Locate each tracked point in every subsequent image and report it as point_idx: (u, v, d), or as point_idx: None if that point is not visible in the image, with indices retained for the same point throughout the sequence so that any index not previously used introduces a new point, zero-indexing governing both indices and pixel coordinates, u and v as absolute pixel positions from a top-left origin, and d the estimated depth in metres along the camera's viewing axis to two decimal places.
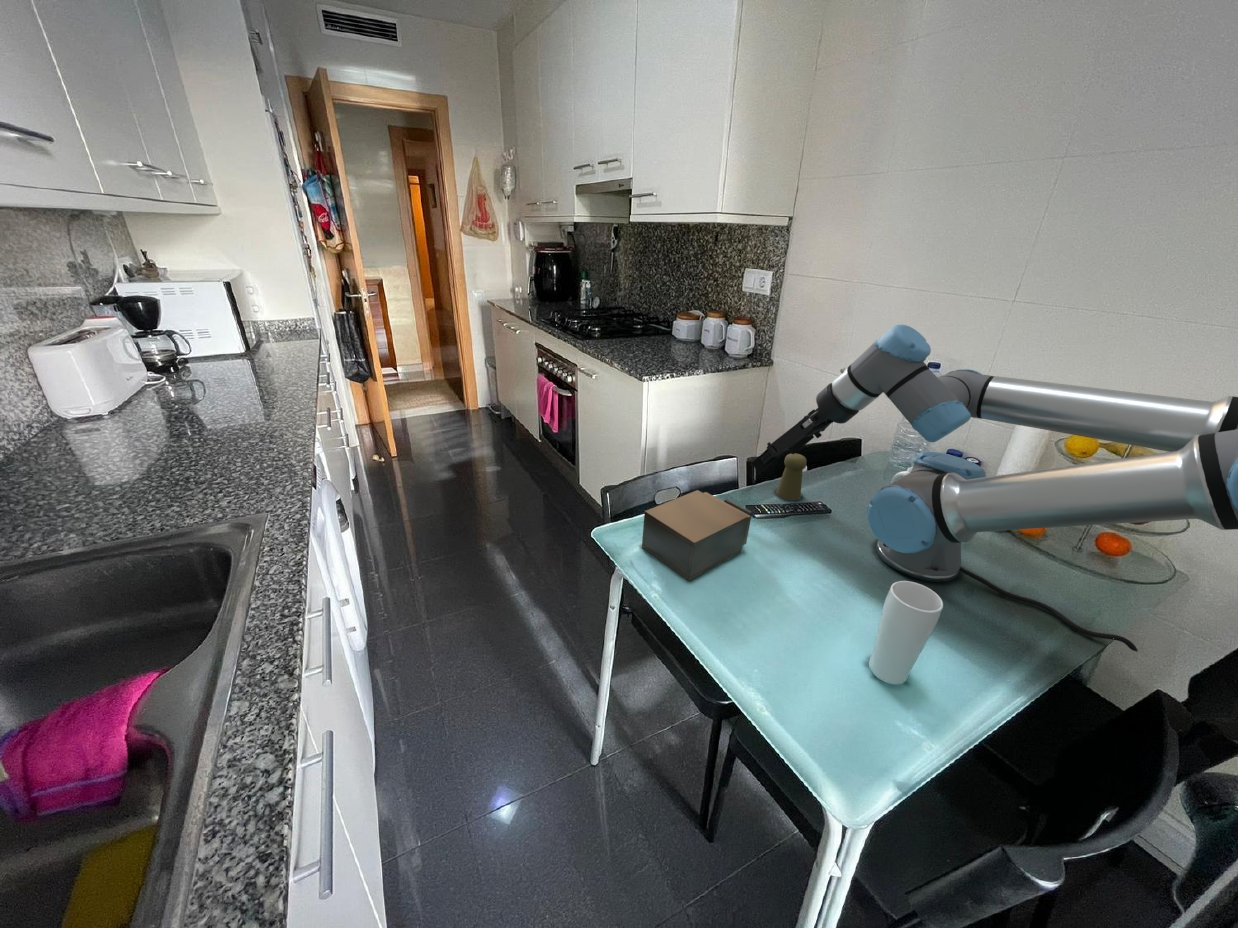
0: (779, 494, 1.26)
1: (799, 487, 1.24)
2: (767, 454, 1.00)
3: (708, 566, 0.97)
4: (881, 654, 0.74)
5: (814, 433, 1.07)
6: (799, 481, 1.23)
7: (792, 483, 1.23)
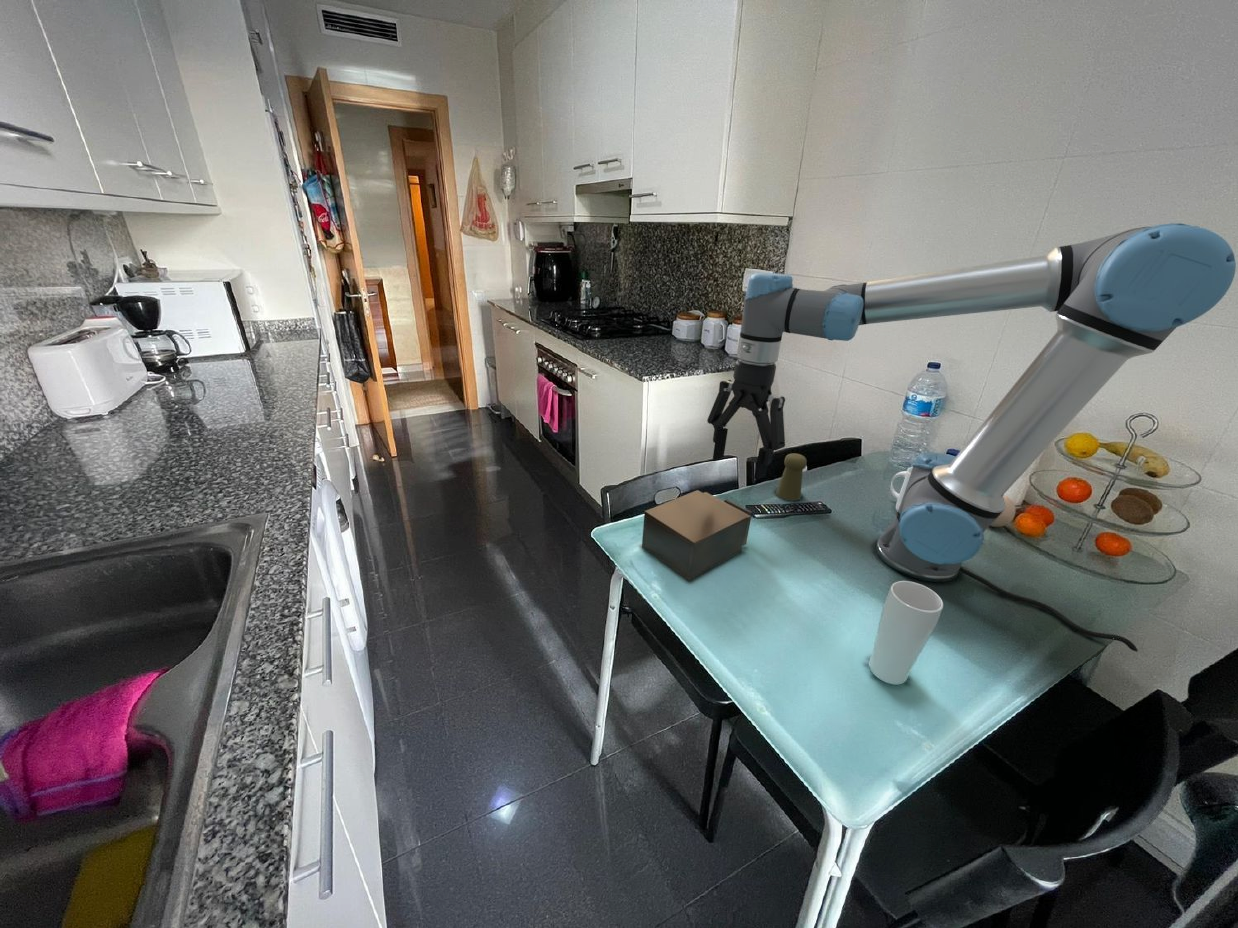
0: (779, 494, 1.26)
1: (799, 487, 1.24)
2: (770, 455, 0.96)
3: (708, 566, 0.97)
4: (881, 654, 0.74)
5: (725, 424, 1.04)
6: (799, 481, 1.23)
7: (792, 483, 1.23)
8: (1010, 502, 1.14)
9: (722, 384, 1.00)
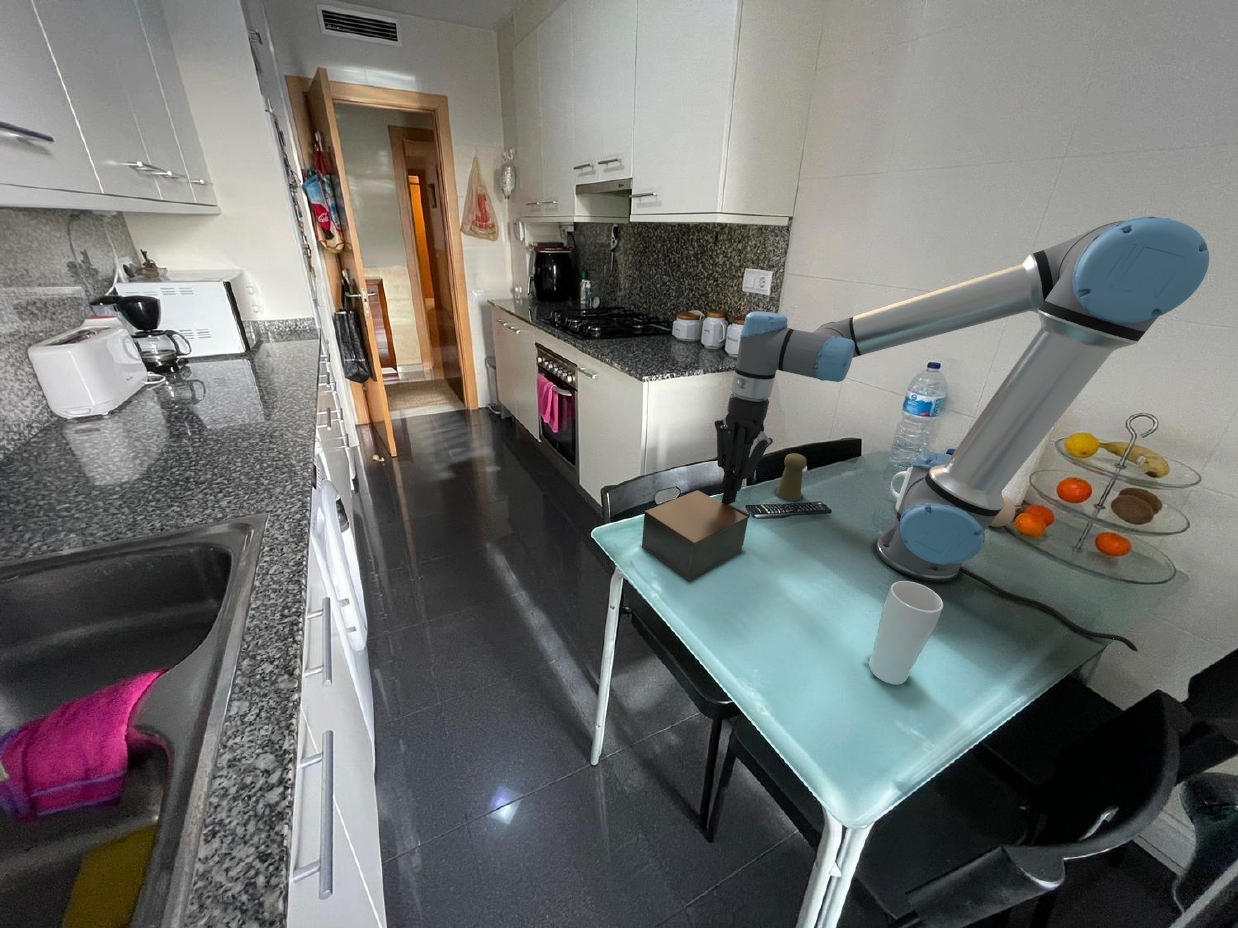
0: (779, 494, 1.26)
1: (799, 487, 1.24)
2: (739, 483, 1.02)
3: (708, 566, 0.97)
4: (881, 654, 0.74)
5: (734, 466, 1.04)
6: (799, 481, 1.23)
7: (792, 483, 1.23)
8: (1010, 502, 1.14)
9: (717, 423, 1.02)
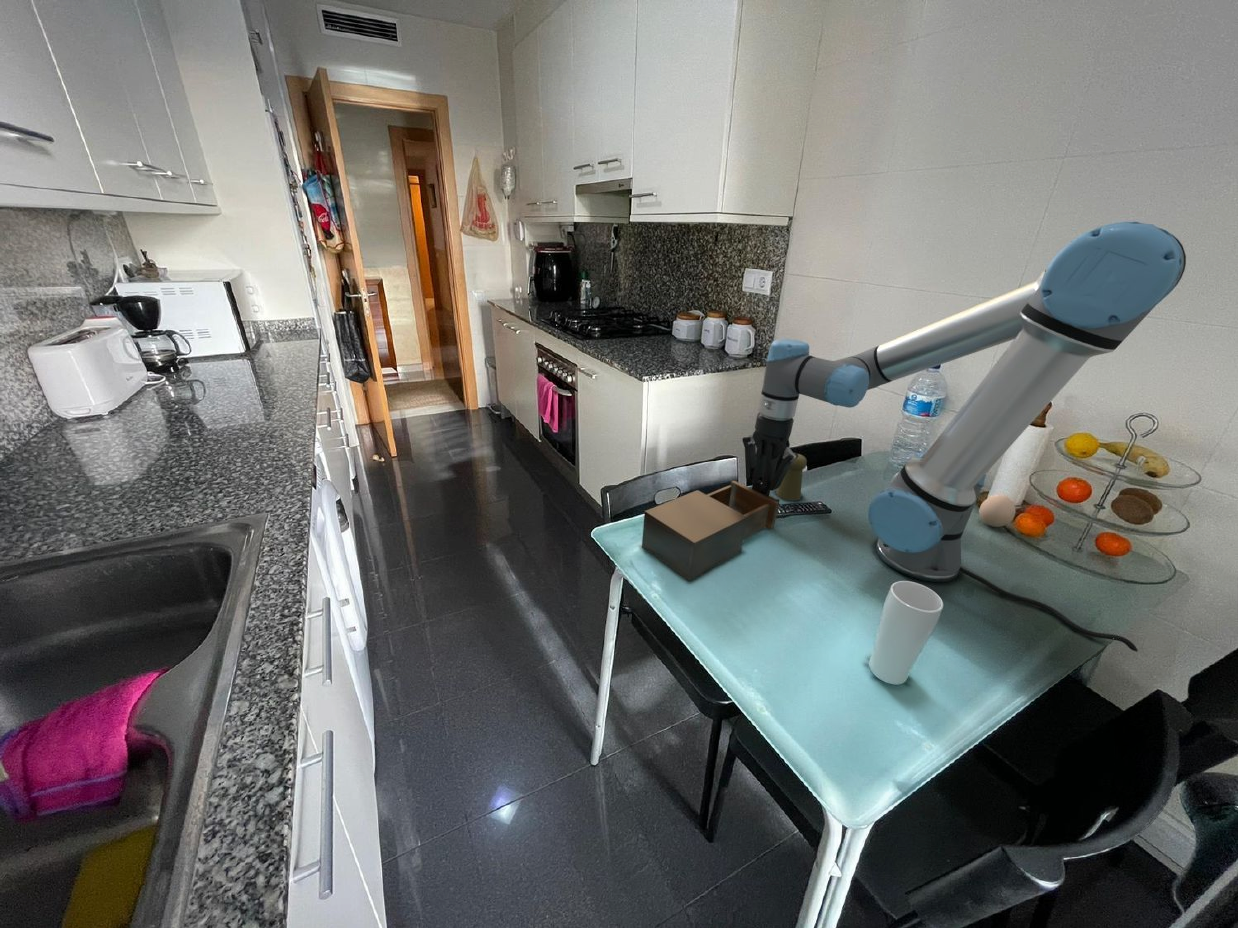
0: (779, 494, 1.26)
1: (799, 487, 1.24)
2: (767, 494, 1.11)
3: (708, 566, 0.97)
4: (881, 654, 0.74)
5: (762, 479, 1.13)
6: (799, 481, 1.23)
7: (792, 483, 1.23)
8: (1010, 502, 1.14)
9: (744, 439, 1.11)
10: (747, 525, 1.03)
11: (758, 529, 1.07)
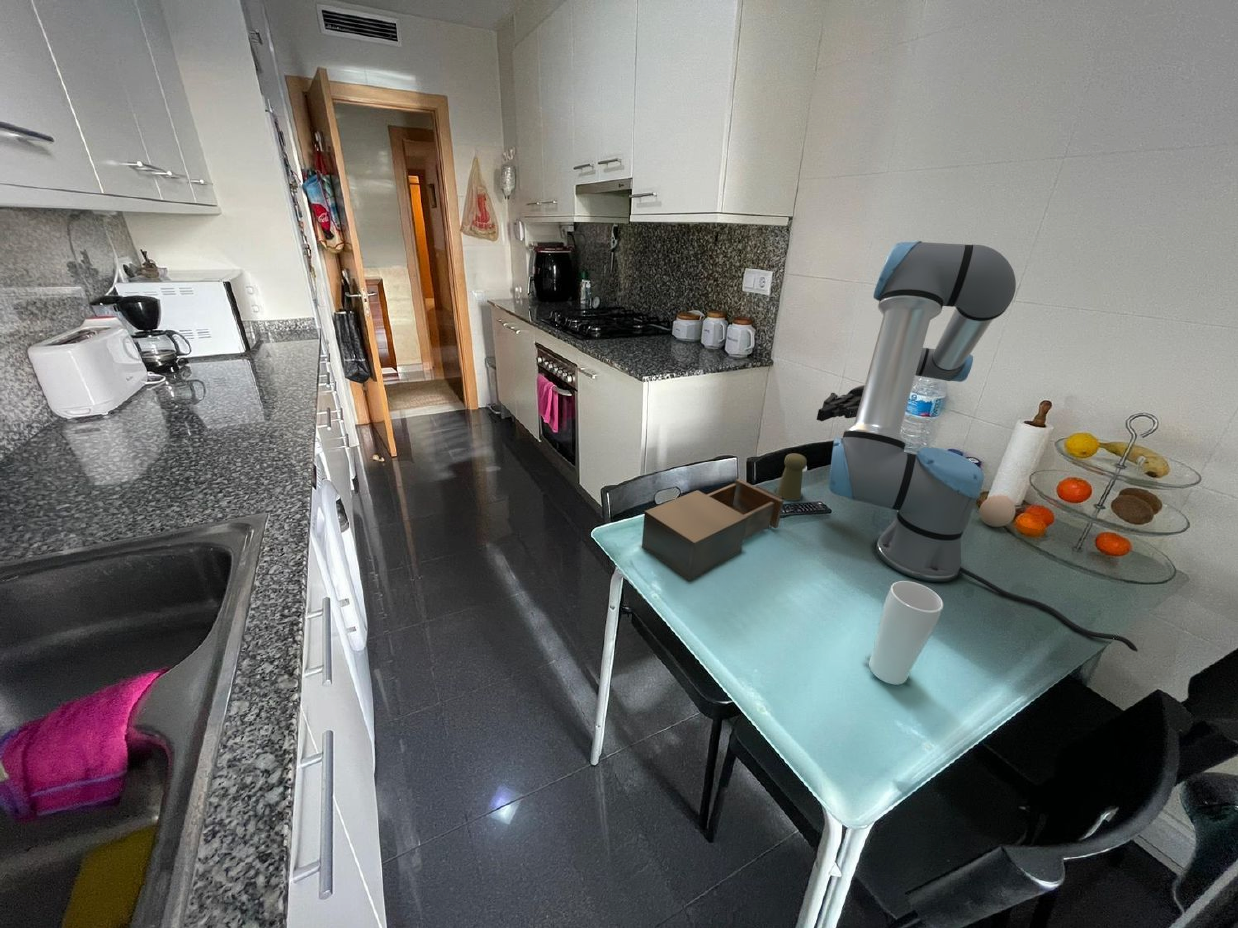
0: (779, 494, 1.26)
1: (799, 487, 1.24)
2: (839, 412, 1.24)
3: (708, 566, 0.97)
4: (881, 654, 0.74)
5: None
6: (799, 481, 1.23)
7: (792, 483, 1.23)
8: (1010, 502, 1.14)
9: (834, 393, 1.35)
10: (752, 523, 1.04)
11: (763, 527, 1.08)
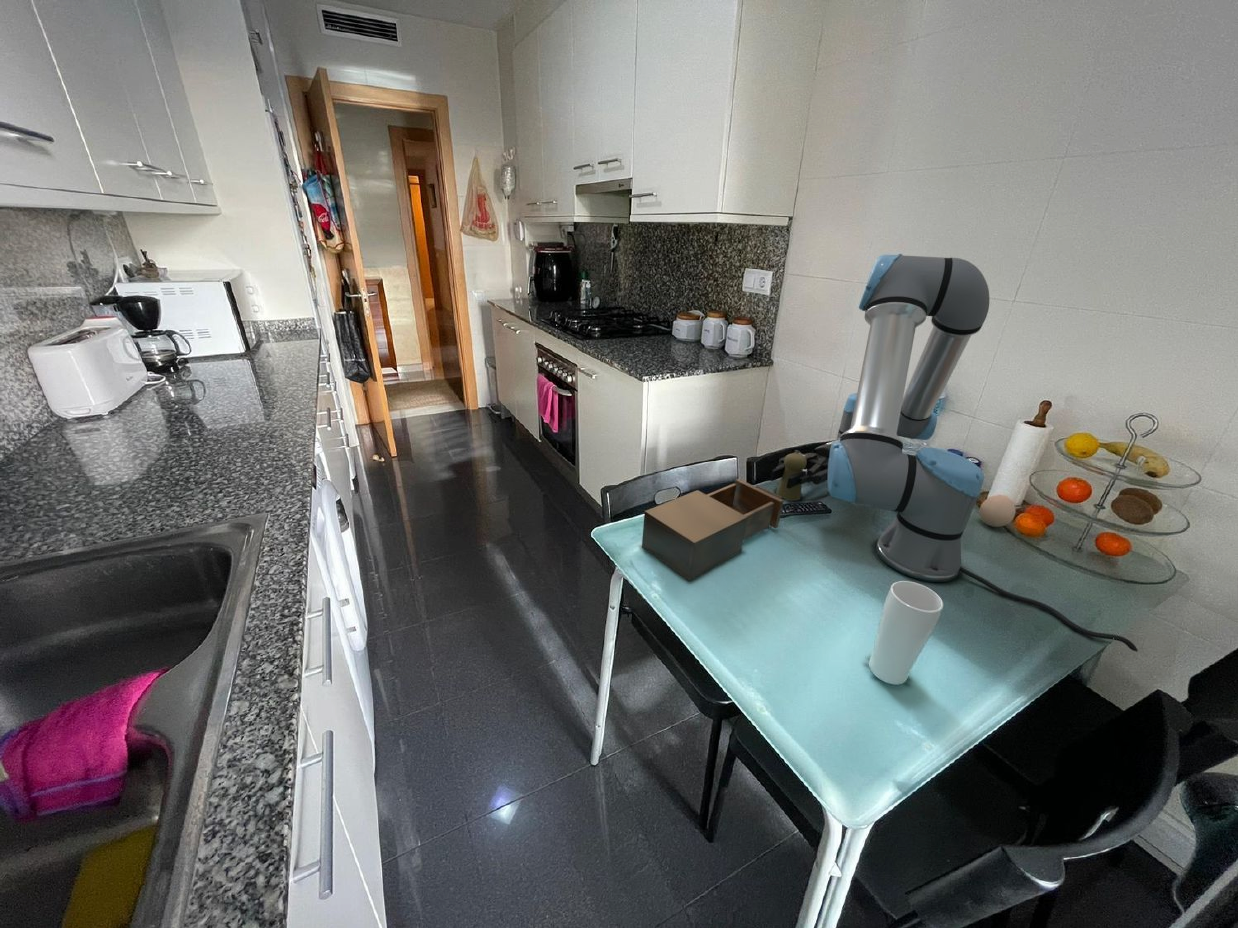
0: (779, 494, 1.26)
1: (799, 487, 1.24)
2: (807, 478, 1.22)
3: (708, 566, 0.97)
4: (881, 654, 0.74)
5: None
6: None
7: None
8: (1010, 502, 1.14)
9: (798, 450, 1.34)
10: (752, 523, 1.04)
11: (763, 527, 1.08)
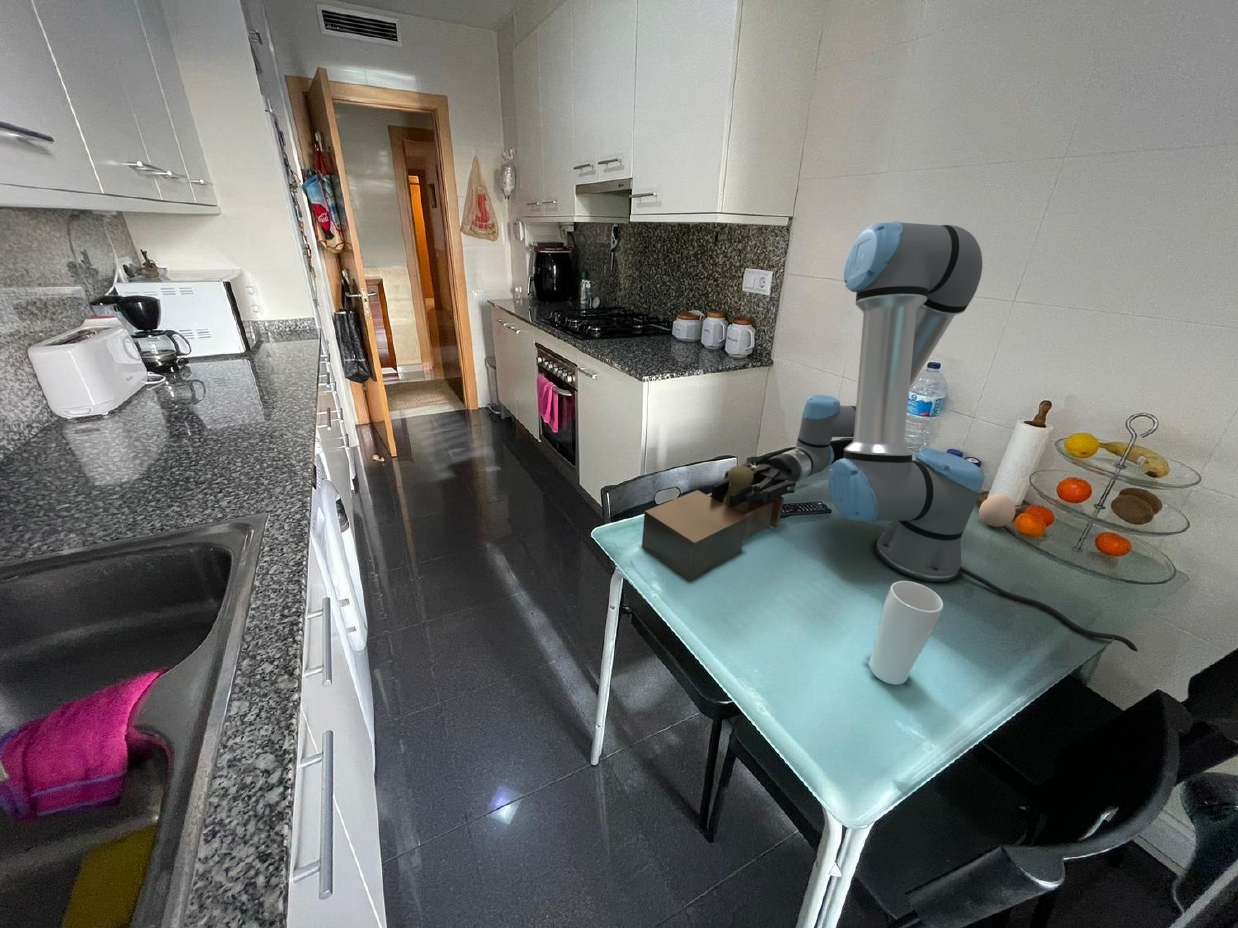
0: None
1: (745, 505, 1.06)
2: (753, 495, 1.04)
3: (708, 566, 0.97)
4: (881, 654, 0.74)
5: None
6: None
7: None
8: (1010, 502, 1.14)
9: (749, 461, 1.17)
10: (752, 523, 1.04)
11: (763, 527, 1.08)
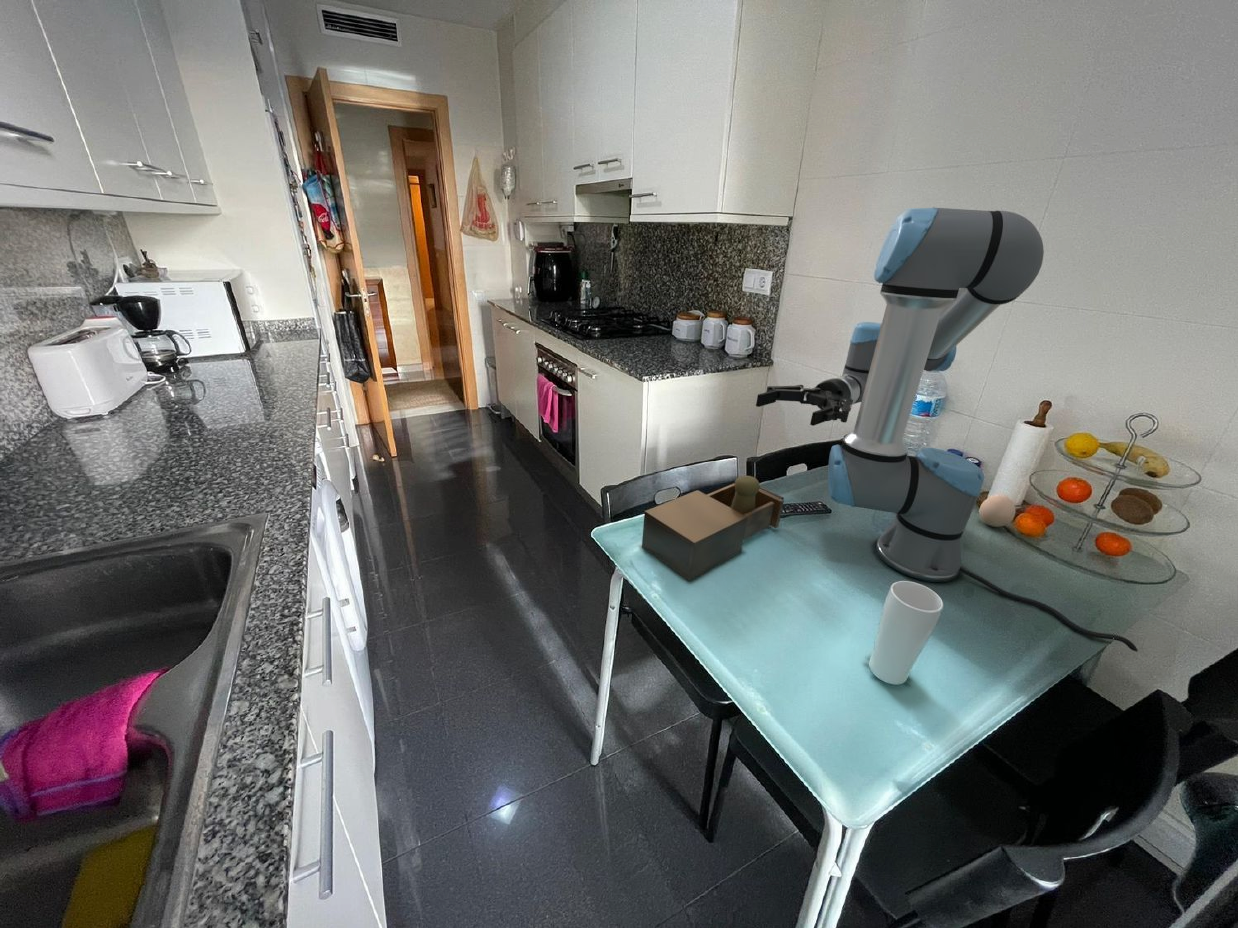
0: None
1: None
2: (834, 415, 1.04)
3: (708, 566, 0.97)
4: (881, 654, 0.74)
5: (776, 398, 1.16)
6: (749, 508, 1.06)
7: (740, 510, 1.06)
8: (1010, 502, 1.14)
9: (801, 385, 1.19)
10: (752, 522, 1.04)
11: (763, 527, 1.08)
